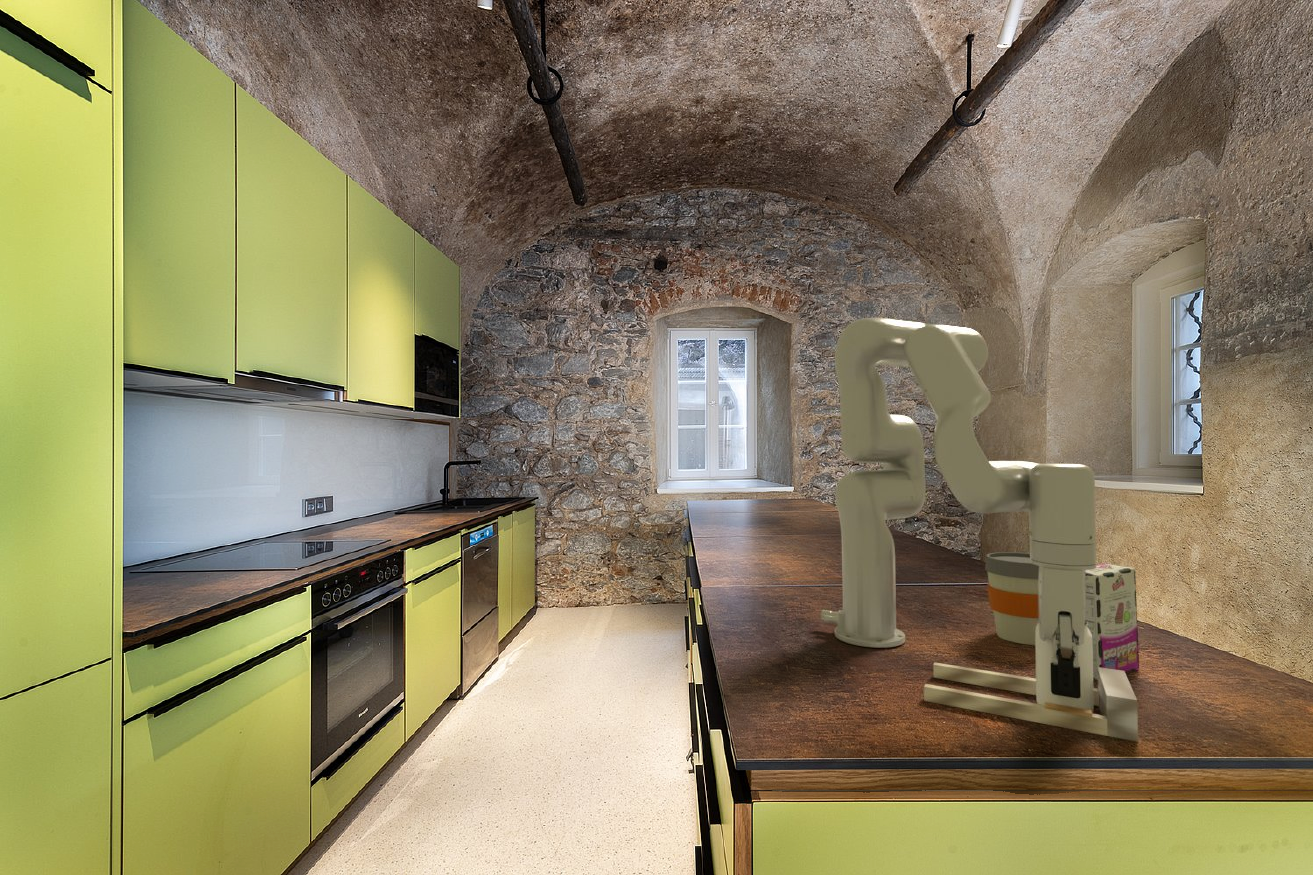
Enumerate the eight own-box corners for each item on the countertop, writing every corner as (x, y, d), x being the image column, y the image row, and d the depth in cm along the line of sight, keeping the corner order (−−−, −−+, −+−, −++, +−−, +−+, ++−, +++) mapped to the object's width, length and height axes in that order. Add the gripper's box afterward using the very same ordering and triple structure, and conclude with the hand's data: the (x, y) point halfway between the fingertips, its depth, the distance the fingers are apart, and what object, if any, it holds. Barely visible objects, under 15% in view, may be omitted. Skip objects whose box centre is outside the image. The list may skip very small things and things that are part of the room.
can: (1103, 721, 79) (1102, 628, 79) (1048, 717, 80) (1046, 625, 80) (1079, 700, 85) (1078, 614, 85) (1028, 697, 87) (1027, 612, 87)
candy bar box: (1105, 660, 102) (1103, 562, 103) (1140, 670, 98) (1138, 567, 98) (1067, 672, 97) (1065, 569, 97) (1102, 683, 93) (1099, 574, 93)
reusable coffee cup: (984, 641, 113) (982, 559, 113) (988, 624, 124) (986, 550, 124) (1065, 652, 106) (1063, 566, 107) (1062, 633, 117) (1060, 555, 117)
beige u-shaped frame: (924, 700, 86) (923, 665, 87) (934, 675, 96) (934, 643, 96) (1138, 741, 74) (1137, 700, 74) (1125, 707, 84) (1124, 670, 84)
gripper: (1029, 543, 92) (1031, 662, 92) (1030, 562, 78) (1032, 703, 77) (1090, 547, 89) (1092, 671, 88) (1102, 567, 74) (1105, 716, 73)
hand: (1064, 685), depth 83 cm, fingers closed on can, 6 cm apart
